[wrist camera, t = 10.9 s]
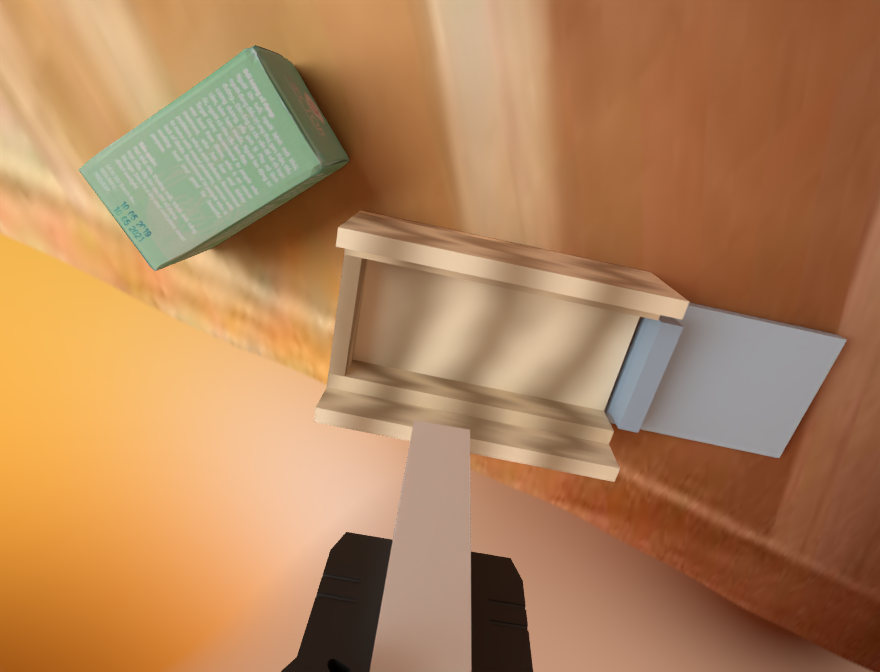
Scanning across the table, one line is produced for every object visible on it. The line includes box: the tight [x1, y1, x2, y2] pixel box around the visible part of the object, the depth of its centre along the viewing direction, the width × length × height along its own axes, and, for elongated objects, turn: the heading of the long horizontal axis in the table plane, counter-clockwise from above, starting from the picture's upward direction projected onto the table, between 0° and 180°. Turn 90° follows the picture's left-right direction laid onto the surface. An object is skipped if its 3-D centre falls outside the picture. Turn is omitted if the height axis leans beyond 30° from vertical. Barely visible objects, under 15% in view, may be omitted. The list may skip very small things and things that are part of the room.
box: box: [79, 45, 349, 271], centre depth 32 cm, size 7×14×8 cm, turn 119°
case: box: [314, 210, 689, 482], centre depth 36 cm, size 22×14×7 cm, turn 78°
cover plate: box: [604, 302, 847, 458], centre depth 39 cm, size 15×11×4 cm
